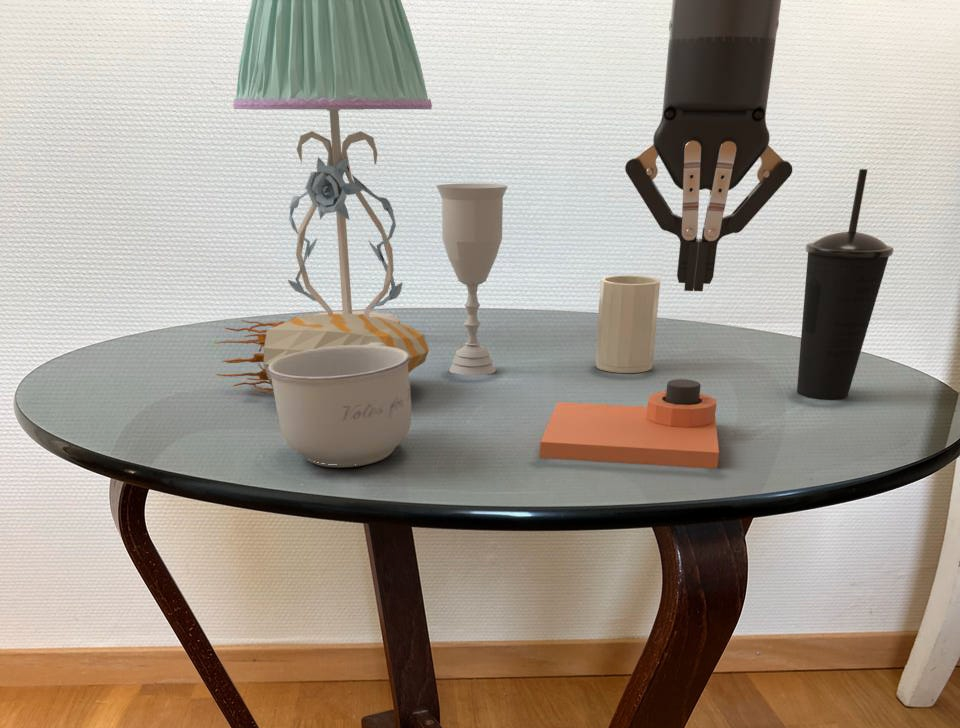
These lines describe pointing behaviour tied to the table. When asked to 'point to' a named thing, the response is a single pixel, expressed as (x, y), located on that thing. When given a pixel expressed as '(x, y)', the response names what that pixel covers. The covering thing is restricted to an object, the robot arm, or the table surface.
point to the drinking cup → (838, 305)
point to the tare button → (683, 392)
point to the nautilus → (328, 339)
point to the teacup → (343, 402)
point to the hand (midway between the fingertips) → (693, 289)
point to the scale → (635, 433)
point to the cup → (627, 323)
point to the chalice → (472, 256)
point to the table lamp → (332, 101)
